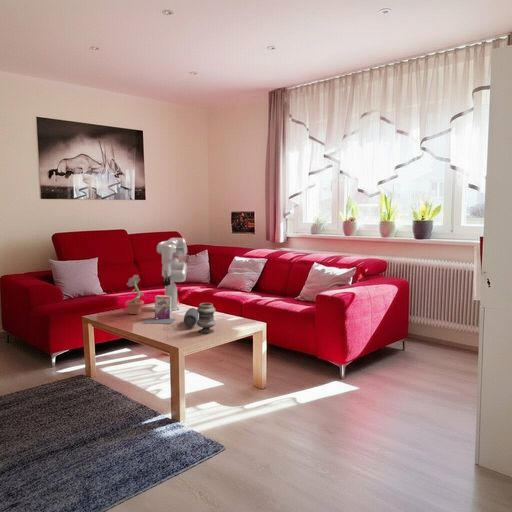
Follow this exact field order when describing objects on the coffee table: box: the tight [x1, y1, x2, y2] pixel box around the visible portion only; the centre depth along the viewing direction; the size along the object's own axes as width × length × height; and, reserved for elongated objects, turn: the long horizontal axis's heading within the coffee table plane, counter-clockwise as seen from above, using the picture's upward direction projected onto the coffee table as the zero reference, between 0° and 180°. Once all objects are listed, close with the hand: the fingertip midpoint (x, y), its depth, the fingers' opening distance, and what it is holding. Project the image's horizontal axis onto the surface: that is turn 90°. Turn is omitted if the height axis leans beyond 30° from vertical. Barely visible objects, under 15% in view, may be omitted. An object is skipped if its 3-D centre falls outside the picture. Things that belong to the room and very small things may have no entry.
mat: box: [142, 317, 177, 325], centre depth 319 cm, size 14×20×1 cm
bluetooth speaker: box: [183, 307, 199, 328], centre depth 309 cm, size 23×9×10 cm, turn 4°
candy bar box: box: [154, 294, 173, 319], centre depth 328 cm, size 11×5×16 cm, turn 84°
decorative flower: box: [124, 274, 145, 315], centre depth 341 cm, size 15×14×30 cm
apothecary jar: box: [196, 302, 216, 334], centre depth 291 cm, size 12×12×18 cm
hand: (167, 285), depth 339 cm, fingers open, 5 cm apart
